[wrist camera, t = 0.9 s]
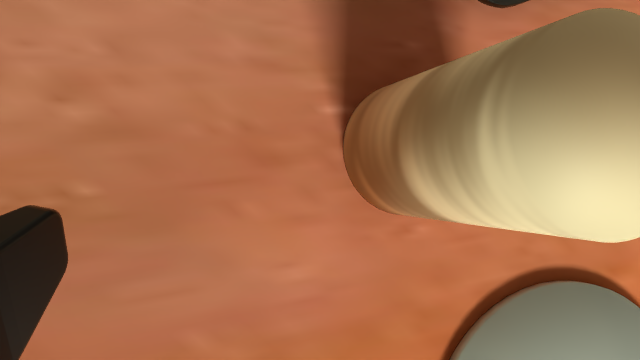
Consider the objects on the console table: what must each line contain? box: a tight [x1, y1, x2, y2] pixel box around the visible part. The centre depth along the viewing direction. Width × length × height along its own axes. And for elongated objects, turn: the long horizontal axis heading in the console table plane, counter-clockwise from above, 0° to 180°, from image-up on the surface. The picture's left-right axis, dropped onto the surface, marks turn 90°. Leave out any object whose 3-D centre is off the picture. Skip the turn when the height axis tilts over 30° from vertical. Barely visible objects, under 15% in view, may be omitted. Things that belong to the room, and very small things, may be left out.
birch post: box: [343, 8, 640, 242], centre depth 20 cm, size 6×6×12 cm
